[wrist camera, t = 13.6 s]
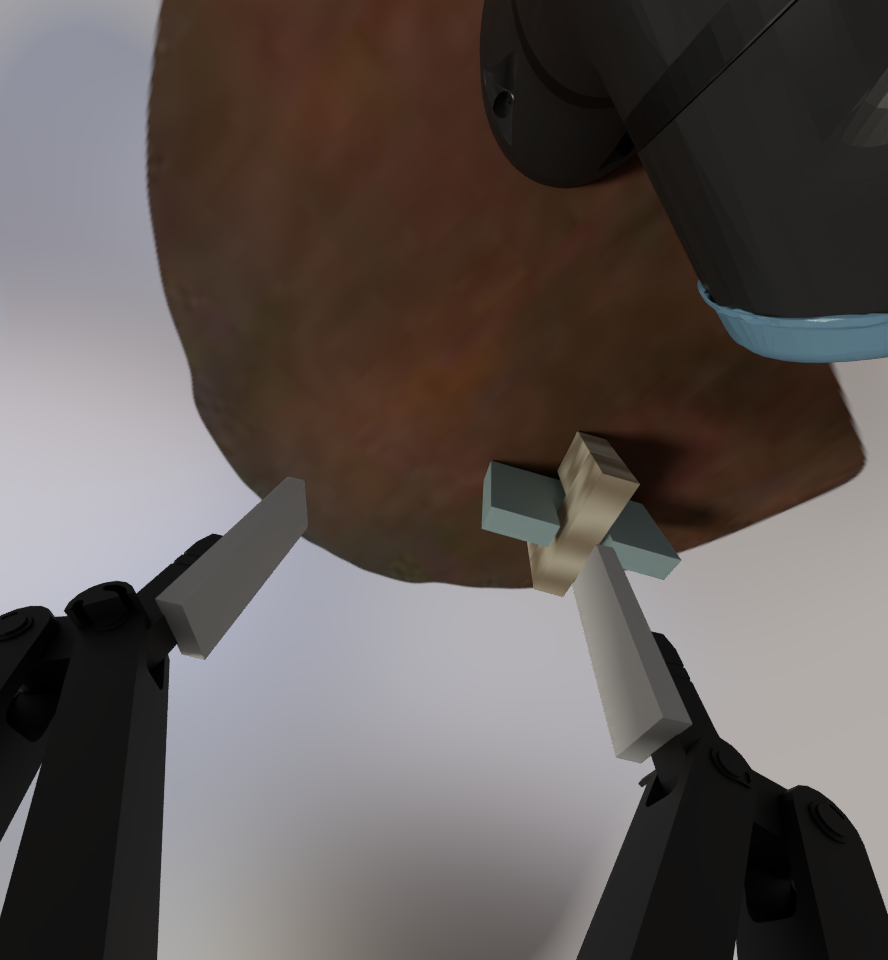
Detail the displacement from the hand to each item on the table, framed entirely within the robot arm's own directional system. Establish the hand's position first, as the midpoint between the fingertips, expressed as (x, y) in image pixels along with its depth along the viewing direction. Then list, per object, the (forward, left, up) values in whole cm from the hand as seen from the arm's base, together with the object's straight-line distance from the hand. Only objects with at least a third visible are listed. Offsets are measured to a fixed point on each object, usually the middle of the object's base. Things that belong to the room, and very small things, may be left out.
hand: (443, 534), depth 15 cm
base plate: (+10, +15, -25) cm, 31 cm away
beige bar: (+9, +15, -26) cm, 31 cm away
